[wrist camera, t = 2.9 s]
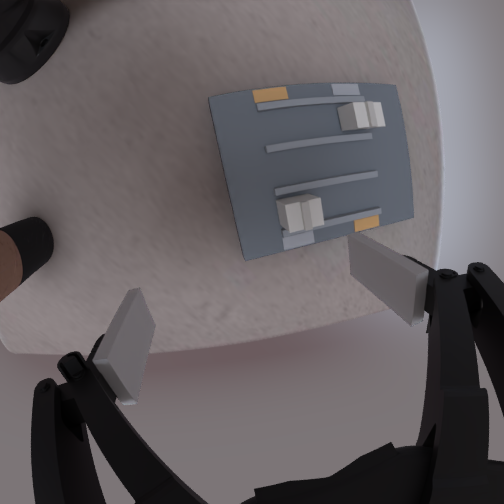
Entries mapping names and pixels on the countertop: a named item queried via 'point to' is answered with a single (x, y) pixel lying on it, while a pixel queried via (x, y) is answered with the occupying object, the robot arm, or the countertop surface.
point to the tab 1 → (300, 212)
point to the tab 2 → (361, 115)
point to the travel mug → (22, 252)
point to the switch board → (311, 161)
